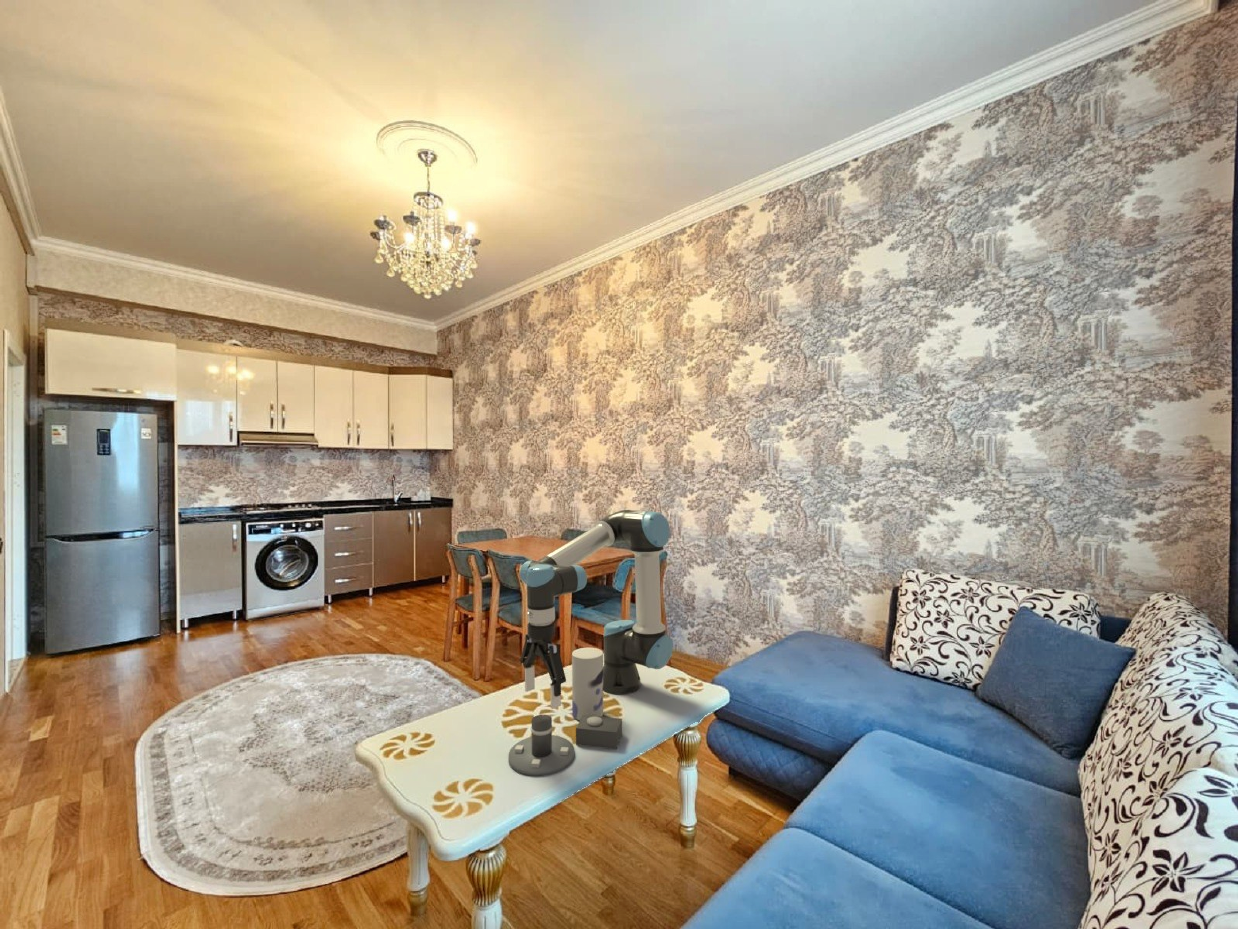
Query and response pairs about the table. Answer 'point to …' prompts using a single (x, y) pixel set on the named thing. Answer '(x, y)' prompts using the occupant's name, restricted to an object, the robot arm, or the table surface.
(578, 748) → the table surface
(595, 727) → the camera body block
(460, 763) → the table surface
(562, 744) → the plate
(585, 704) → the container
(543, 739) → the grey rounded cylinder
